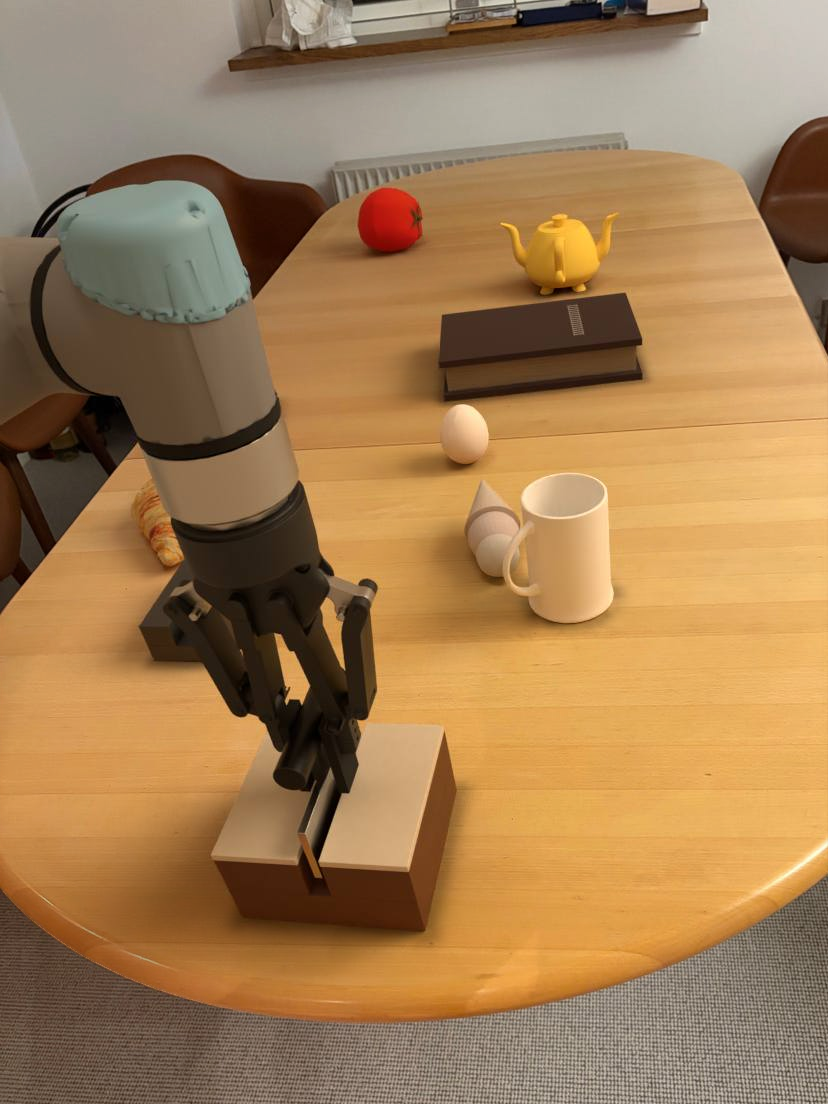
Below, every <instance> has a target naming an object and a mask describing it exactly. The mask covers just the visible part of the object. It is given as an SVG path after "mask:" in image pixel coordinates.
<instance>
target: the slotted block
mask: <svg viewBox="0 0 828 1104" xmlns="http://www.w3.org/2000/svg"><path fill="white" fill-rule="evenodd" d="M193 577H194V575H193V574H192V573H191V572H190V570H189V568H188V566H187V564H186V561H185V559H184V560H183V561H181V562H180V564H179V566H178V568H177V569H176V570H175V572H174V574H173V575H172V576H171V577H170V579H169V580H168V582H167V584H166V585H165V587H164V588H163V590H162V591H161V593H160V594H159V595H158V597H157V599H156V600H155V601H154V603H153V604H152V606H151V607H150V609H149V610H148V612H147V614H146V615H145V616H144V618H143V619H142V621H141V622H140V623H139V625H138V628H139V629H138V630H139V631H140V633H141V635H142V637H143V639H144V641H145V644H146V646H147V648H148V651H149V653H150V655H151V657H152V659H153V661H154V662H155V661H157V662H158V661H159V662H202V661H201V659H200V658H199V656H198V654H197V653H196V651H195V649H194V647H193V646H192V644H191V642H190V641H189V639H188V637H187V635H186V634H185V633H184V632H183V631H182V630H181V629H180V628H179V627H178V626H177V625H176V624H175V623H174V622H173V621H172V620H171V619H170V618H169V617H168V616H167V615H166V614H165V613H164V611H163V606H164V604H165V603H166V601H167V600H168V598H169V597H170V595H171V594H172V592H173V591H174V589H175V588H176V586H177V584H178V583H179V582H180V581H181V580H183V579H186V580H190V581H193ZM220 614H221V613H220ZM221 616H222V618H223V620H224V622H225V623H226V625H227V627H228V629H229V631H230V633H231V634H232V636H233V638H234V640H235V637H234V633H233V629H232V625H231V621H230V620H228V619H227V618H226V617H225V616H223V615H222V614H221ZM235 642H236V641H235Z"/></svg>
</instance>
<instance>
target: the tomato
mask: <svg viewBox="0 0 828 1104" xmlns="http://www.w3.org/2000/svg"><path fill="white" fill-rule="evenodd" d="M419 202H420V201H418V200H417V199H416V197H414V196H412V195H411V194H409V192H406V191H404V190H403V189H399V188H396V187H380V188H378V189H376V190H374V191H372V192H370V193H369V194H368V195H367V196H366V197H365V198H364V200H363V202H362V203H361V204H360V208H359V210H358V219H357V230H358V233H359V237H360V239H361V241H362V242H363V243H364V244H365V246H367V247H368V248H371V249H372V250H375V251H378V252H382V253H395V252H399V251H403V250H407V249H409V248H410V247H411V246H413V245H414V244H415V243H416V242H417V241H418V240H419V239H421V238H422V237H423V225H422V220H423V212H422V208H421V206H420V203H419Z"/></svg>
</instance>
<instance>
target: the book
mask: <svg viewBox="0 0 828 1104" xmlns="http://www.w3.org/2000/svg"><path fill="white" fill-rule="evenodd" d="M440 321H441V322H440V323H441V324H440V337H439V349H438V368H439V370H442V369H444V383H443V401H444V402H455V401H464V400H472V399H480V398H490V397H491V398H492V397H498V396H500V397H501V396H508V395H516V394H517V395H518V394H524V393H532V392H533V393H535V392H542V391H551V390H561V389H568V388H569V389H570V388H578V387H587V386H595V385H603V384H604V385H605V384H612V383H613V384H614V383H622V382H630V381H639V380H640V381H641V380H643V371H642V367H641V364H640V361H639V358H638V355H637V347H638V346H643V337H642V333H641V331H640V328H639V325H638V322H637V320H636V317H635V314H634V311H633V308H632V306H631V303H630V300H629V297H628V295H627V293H626V292H619V293H617V292H616V293H610V294H602V295H594V296H585V297H577V298H568V299H559V300H552V301H543V302H536V303H528V304H519V305H511V306H510V305H509V306H502V307H493V308H486V309H485V308H484V309H477V310H470V311H461V312H452V313H445V314H441V320H440Z"/></svg>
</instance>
